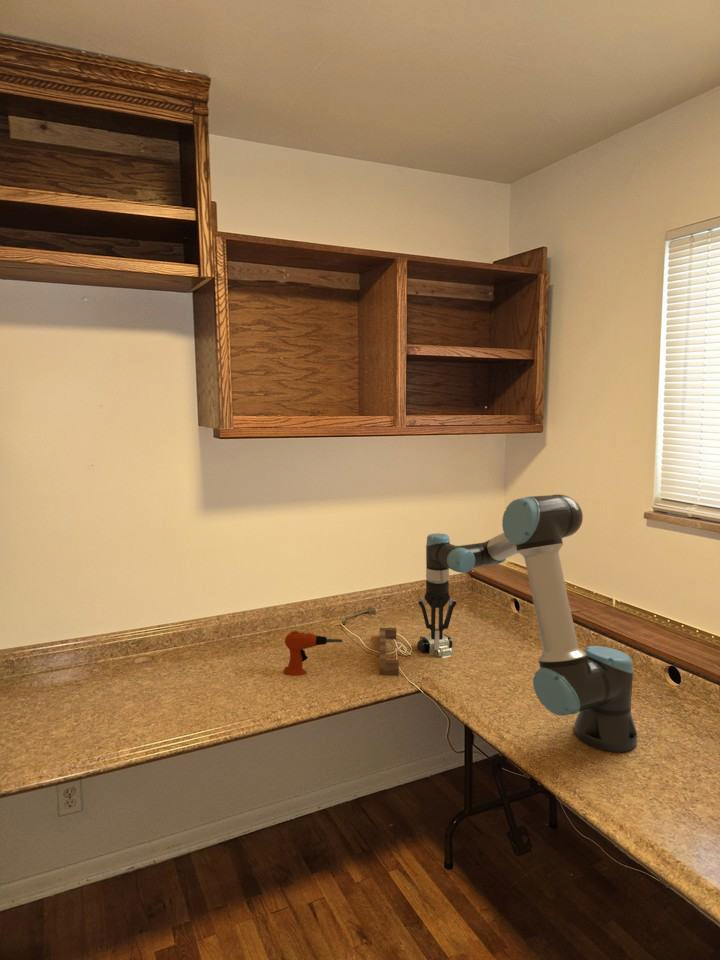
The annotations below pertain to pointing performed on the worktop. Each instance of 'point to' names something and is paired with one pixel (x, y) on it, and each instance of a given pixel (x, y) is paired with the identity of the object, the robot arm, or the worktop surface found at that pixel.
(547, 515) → the robot arm
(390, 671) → the stop
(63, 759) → the worktop surface
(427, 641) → the pneumatic valve
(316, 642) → the toy drill
